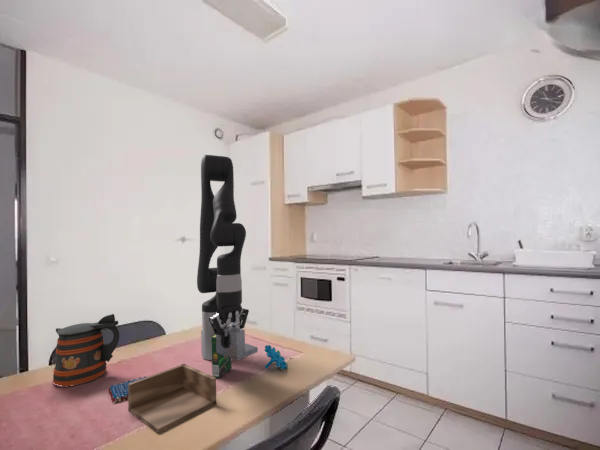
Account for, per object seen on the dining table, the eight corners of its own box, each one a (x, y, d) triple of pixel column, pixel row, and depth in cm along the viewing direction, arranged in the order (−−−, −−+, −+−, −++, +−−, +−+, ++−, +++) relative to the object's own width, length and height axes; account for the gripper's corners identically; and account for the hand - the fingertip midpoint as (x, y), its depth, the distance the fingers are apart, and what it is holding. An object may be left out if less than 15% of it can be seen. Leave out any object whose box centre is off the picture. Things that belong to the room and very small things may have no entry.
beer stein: (125, 363, 116) (124, 308, 116) (115, 380, 102) (114, 317, 103) (63, 371, 110) (63, 313, 111) (44, 391, 96) (43, 324, 97)
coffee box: (219, 378, 101) (218, 337, 101) (211, 378, 102) (210, 336, 102) (232, 368, 108) (231, 329, 109) (224, 367, 109) (224, 329, 110)
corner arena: (128, 410, 83) (128, 383, 84) (184, 387, 96) (184, 363, 96) (157, 433, 73) (157, 402, 73) (216, 403, 86) (215, 377, 86)
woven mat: (107, 392, 95) (107, 385, 95) (146, 381, 102) (146, 375, 102) (112, 406, 87) (112, 398, 87) (153, 393, 93) (153, 386, 93)
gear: (285, 370, 102) (264, 346, 104) (272, 383, 102) (251, 359, 104) (291, 361, 113) (271, 340, 115) (279, 373, 113) (260, 352, 115)
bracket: (216, 352, 98) (215, 326, 98) (236, 345, 104) (236, 320, 105) (237, 360, 92) (236, 332, 92) (257, 352, 98) (257, 325, 98)
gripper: (239, 284, 104) (240, 337, 104) (201, 291, 94) (202, 350, 93) (254, 286, 100) (255, 342, 99) (217, 293, 89) (218, 356, 88)
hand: (230, 345), depth 96 cm, fingers closed on bracket, 3 cm apart
